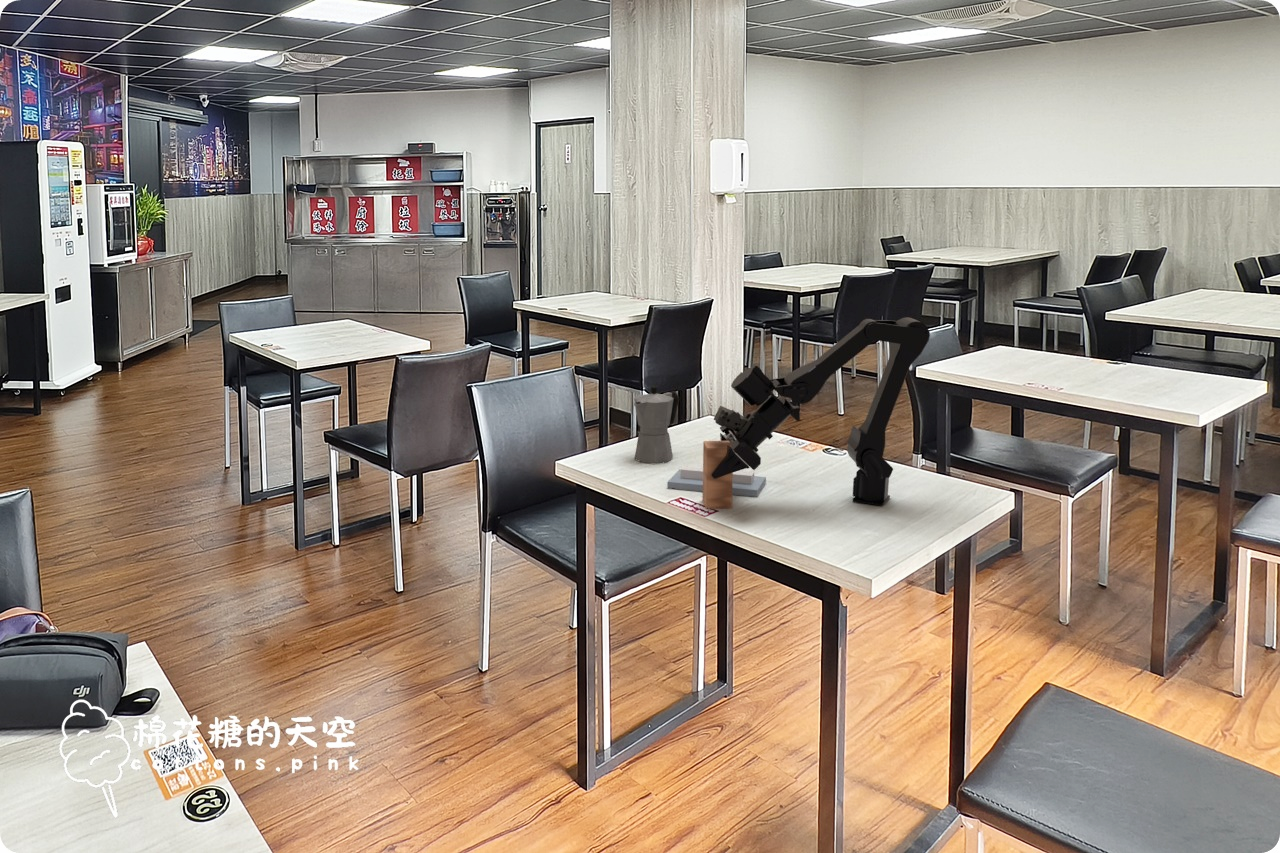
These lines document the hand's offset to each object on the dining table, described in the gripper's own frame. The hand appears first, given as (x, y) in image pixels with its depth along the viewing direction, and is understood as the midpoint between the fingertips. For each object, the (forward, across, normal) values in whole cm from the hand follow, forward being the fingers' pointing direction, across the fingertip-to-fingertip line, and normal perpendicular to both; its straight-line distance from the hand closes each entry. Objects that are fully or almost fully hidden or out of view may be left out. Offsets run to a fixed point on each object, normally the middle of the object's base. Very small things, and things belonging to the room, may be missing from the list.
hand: (710, 472), depth 210 cm
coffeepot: (+11, -36, -1) cm, 37 cm away
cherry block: (+4, 0, +6) cm, 7 cm away
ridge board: (+2, -12, +7) cm, 15 cm away
